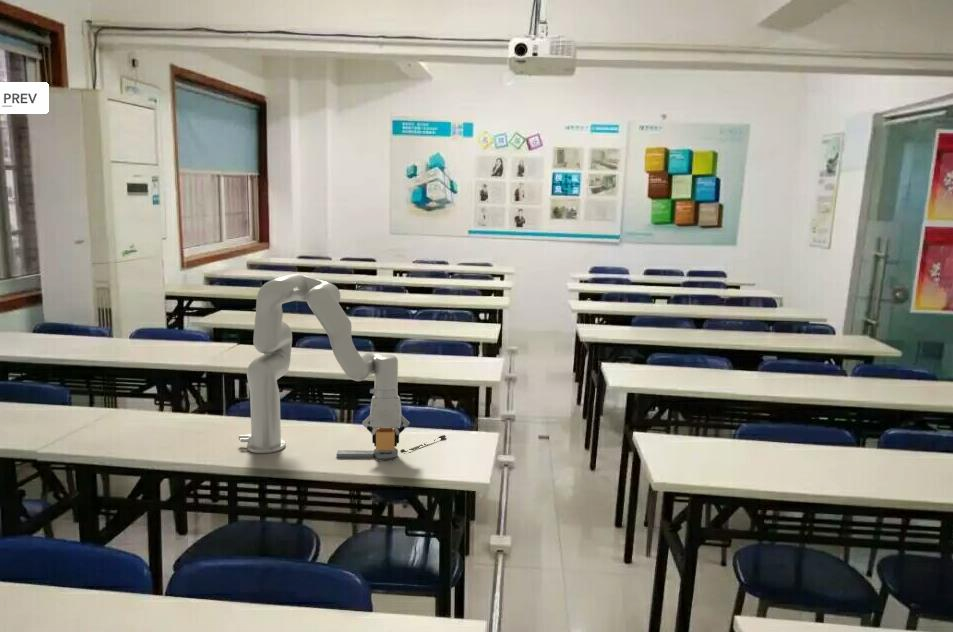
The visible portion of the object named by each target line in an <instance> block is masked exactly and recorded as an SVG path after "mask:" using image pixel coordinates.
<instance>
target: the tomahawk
mask: <svg viewBox="0 0 953 632" xmlns="http://www.w3.org/2000/svg"><path fill="white" fill-rule="evenodd" d="M445 437H446V438H447V436H446V435H445V434H443V435H440V436H438V438H441V439H442V440H443V438H444V439H446V438H445ZM433 440H434V441H435V440H436V439H433ZM425 443H426V442H424V443H423V444H424V445H426V444H425ZM420 446H423V445H422V444H419V445H417V446H414V447H411V448H408V450H414V449H417V448H419V447H420ZM419 449H420V448H419ZM405 450H406V449H405V448H402V449H400V453H403V452H404V451H405ZM417 450H418V449H417ZM414 451H415V450H414Z"/></svg>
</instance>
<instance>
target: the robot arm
mask: <svg viewBox="0 0 953 632" xmlns="http://www.w3.org/2000/svg"><path fill="white" fill-rule="evenodd" d="M296 300H299V301H300V300H301V301H303V302H304V301H305V302H306V303H307V305H308V307H309V309H310V310H311V312H312V313H313V314H314V316H315V317H316V319H317V320H318V322H319V323H320V325H321V327H322V328H323V330H324V331H325V333H326V334H327V336H328V339H329V344H330V346H331V349H332V352H333V355H334V358H335V360H336V361H337V363H338V364H339V366H340V368H341V369H342V371H343V372H344V373H345V375H346V376H347V377H348V378H350V379H351V380H353V381H355V382H361V381H364V380H366V379H367V378H368V377H369V376H372V375H374V387H373V388H370V389H369V393H370V394H373V395H372V398H371V401H370V412H369V415H368V416H367V417H366V418H365V419H364V420H363V421H362V422H361V423H362V424H361V425H362V426H363V427H364V428H366V430H368V432H369V433H370V434H371V435H372V437H371V438H372V439H371V440H372V441H371V442H372V444H373V446H374V448H376V430H377V428H394V430H395V448H396V447H397V446H398V444H400V435H401V433H402V432H403V431H404V430H405V429H406V428H407V427H409V425H410V421H409V420H407V418H406V417H404V415H403V414H402V403H401V398H400V396H399V395H398V390H399V389H398V386H399V385H398V383H399V380H398V377H399V375H398V374H399V360H398V358H397V356H396V355H393V354H377V353H373V352H366V351H365V352H361V353H359V352H358V350H357V348H356V347H355V344H354V342H353V339H352V322H351V320H350V318H349V317H348V314H347V313H346V312H345V311H344V310H343V308H342V306H341V305H340V301H341V292H340V290H339V288H338V287H337V286H336V285H335V284H333V283H330V282H328V281H326V280H325V281H324V280H321V279H317V278H314V277H311V276H307V275H304V274H300V273H294V274H293V273H292V274H289V275H284V276H280V277H277V278H276V277H275V278H273V279H270V280H268V281H267V282H265V283H264V284H263V285H262V286H261V287H260V288H259V289H258V292H257V294H256V302H255V303H256V304H255V306H256V307H255V308H256V309H255V316H254V328H253V338H252V339H253V341H252V342H253V347H254V349H255V350H256V351H257V352H259V353H261V354H263V355H260V356H258V357H256V358H255V359H253V361H251V362H250V363H249V365H248V367H247V370H246V377H247V383H248V389H249V401H250V403H249V404H250V428H251V429H250V433H249V434H239V435H238V440H239V441H240V443H246V449H247V451H249V452H251V453H253V454H272V453H276V452H278V451H281V450H283V449H285V447H286V445H287V444H286V441H285V440H284V439H282V438H281V437H282V435H281V434H282V433H281V432H282V430H281V395H280V390H279V385H278V380H279V379H281V377H283V376H285V375H286V374H287V373H288V372H289V369H290V365H291V357H292V348H293V347H292V346H293V345H292V344H293V332H292V329H291V328H290V326H289V325H288V324H287V323H286V322H285V321H283V318H284V317H283V316H284V315H283V314H284V312H283V307H282V305H283V304H286V303H290V302H294V301H296ZM402 423H403V424H402Z"/></svg>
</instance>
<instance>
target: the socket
mask: <svg viewBox="0 0 953 632" xmlns="http://www.w3.org/2000/svg"><path fill="white" fill-rule="evenodd" d="M395 448H396V447H395V430H394V428H377V430H376V447H375V449H376V450H394V449H395Z"/></svg>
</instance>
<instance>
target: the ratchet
mask: <svg viewBox="0 0 953 632" xmlns="http://www.w3.org/2000/svg"><path fill="white" fill-rule="evenodd" d="M398 457H399V450H398V449H397V448H396V447H395V449H394V450H376V448H374V449H373V450H359V449H358V450H354V449H353V450H349V449H348V450H346V449H345V450H343V449H342V450H337V452H336V459H374V458H375V459H374V460H376V461H379V462H390V460H392V461H394V459H395V460H396V458H397V459H398Z"/></svg>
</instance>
